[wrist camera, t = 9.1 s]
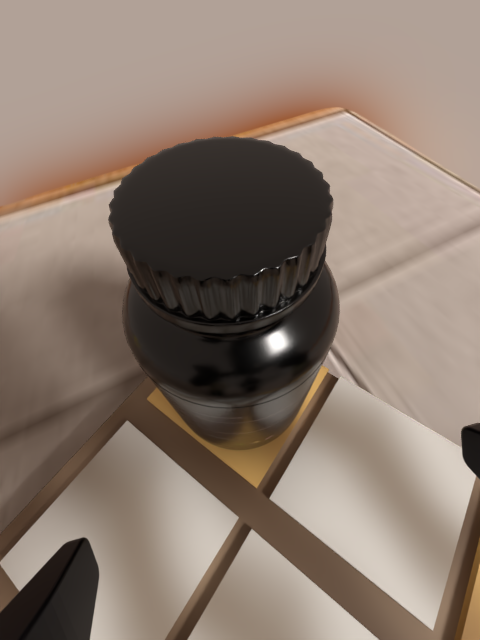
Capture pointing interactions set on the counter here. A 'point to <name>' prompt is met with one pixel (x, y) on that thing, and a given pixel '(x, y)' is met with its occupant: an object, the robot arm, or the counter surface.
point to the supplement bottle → (228, 283)
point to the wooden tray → (265, 526)
